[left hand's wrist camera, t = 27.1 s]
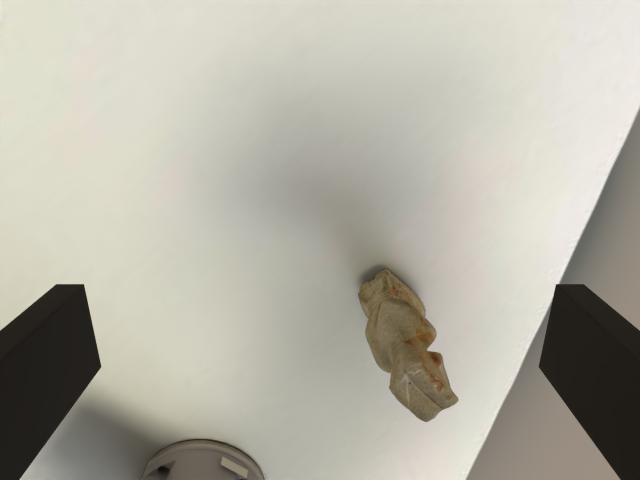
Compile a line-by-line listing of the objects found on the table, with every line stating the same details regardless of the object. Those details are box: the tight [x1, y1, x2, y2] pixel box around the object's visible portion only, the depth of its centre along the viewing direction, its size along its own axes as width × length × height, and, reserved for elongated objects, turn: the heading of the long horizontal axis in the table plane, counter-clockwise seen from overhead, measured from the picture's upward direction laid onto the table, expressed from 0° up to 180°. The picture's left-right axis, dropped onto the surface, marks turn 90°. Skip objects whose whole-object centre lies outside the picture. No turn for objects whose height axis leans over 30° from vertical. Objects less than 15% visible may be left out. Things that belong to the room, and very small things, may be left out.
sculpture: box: [358, 269, 458, 422], centre depth 40 cm, size 6×7×15 cm
